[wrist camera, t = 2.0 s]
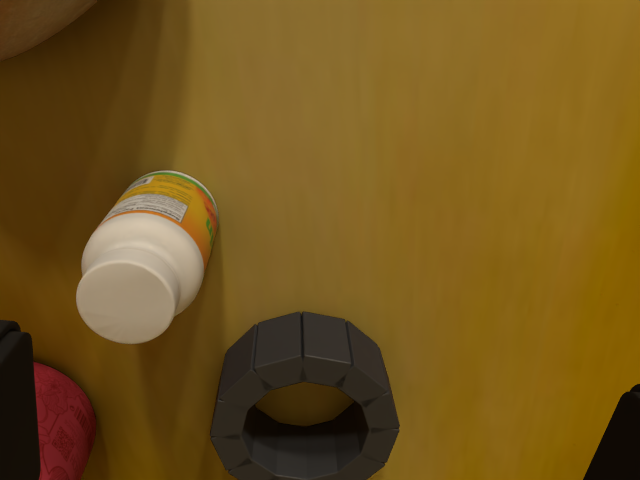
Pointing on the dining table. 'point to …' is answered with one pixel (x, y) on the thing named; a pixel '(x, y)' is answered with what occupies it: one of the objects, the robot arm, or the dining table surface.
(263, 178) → the dining table surface
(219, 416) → the tape roll
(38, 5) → the bread roll
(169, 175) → the supplement bottle
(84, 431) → the wine bottle
